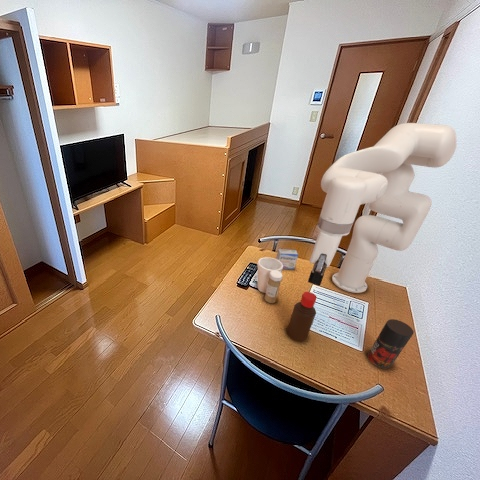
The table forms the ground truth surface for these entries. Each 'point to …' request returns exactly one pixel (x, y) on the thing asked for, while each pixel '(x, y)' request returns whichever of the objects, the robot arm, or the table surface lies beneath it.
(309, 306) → the cap
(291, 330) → the sauce bottle
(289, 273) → the table surface
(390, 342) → the deodorant
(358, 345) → the table surface
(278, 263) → the foam cup
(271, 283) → the sprinkles bottle
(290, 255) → the medicine box
